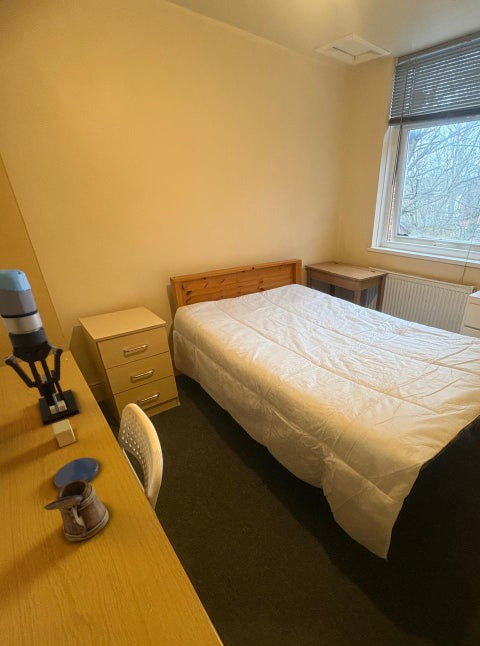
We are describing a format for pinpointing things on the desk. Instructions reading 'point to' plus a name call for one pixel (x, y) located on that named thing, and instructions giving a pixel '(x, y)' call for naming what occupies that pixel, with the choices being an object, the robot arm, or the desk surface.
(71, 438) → the butter block
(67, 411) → the slicer blade
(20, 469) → the desk surface
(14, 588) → the desk surface
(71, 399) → the slicer
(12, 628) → the desk surface
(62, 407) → the cream block
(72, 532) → the wooden mug
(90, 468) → the saucer
